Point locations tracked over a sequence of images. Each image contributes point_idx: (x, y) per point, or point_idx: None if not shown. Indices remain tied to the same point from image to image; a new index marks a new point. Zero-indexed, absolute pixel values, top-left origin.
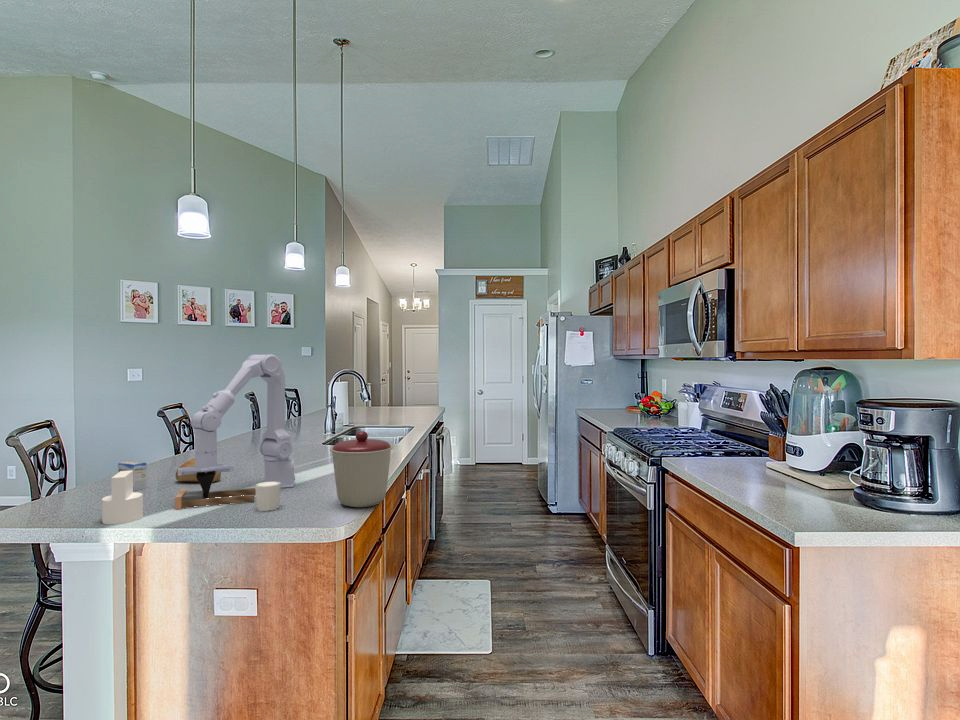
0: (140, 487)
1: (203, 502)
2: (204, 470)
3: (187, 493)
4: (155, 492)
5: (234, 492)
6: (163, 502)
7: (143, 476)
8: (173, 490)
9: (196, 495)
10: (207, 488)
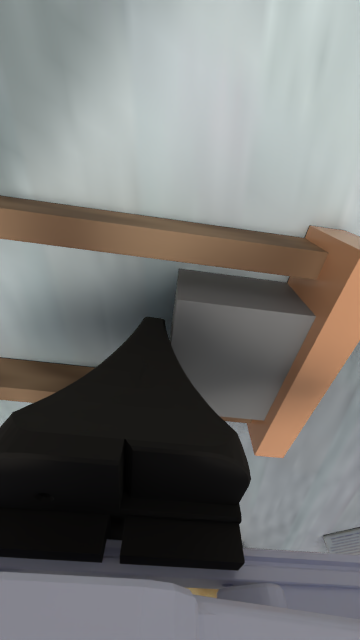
0: (345, 540)
1: (169, 226)
2: (52, 638)
3: (265, 383)
4: (315, 505)
5: (10, 378)
6: (338, 402)
7: None
8: (262, 505)
9: (219, 306)
10: (132, 350)
